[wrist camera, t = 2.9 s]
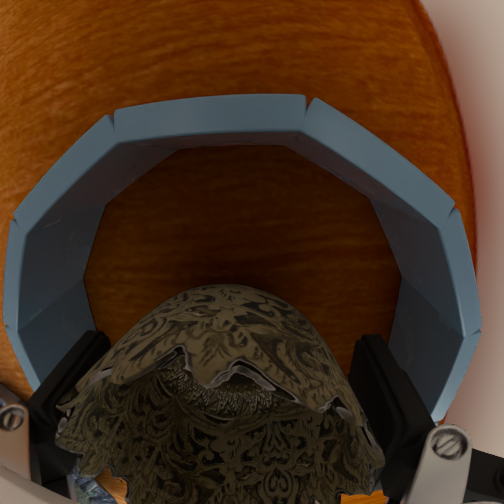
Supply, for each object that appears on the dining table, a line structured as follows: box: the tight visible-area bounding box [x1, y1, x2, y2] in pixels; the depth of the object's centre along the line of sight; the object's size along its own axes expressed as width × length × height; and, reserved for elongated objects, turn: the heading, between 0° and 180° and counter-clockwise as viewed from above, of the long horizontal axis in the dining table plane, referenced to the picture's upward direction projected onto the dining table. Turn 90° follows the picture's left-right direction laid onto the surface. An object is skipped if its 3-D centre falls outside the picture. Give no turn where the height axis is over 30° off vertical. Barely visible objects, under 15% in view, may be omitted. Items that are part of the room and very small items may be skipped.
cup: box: [55, 284, 385, 504], centre depth 8 cm, size 8×7×8 cm
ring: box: [3, 94, 482, 426], centre depth 10 cm, size 16×16×5 cm
